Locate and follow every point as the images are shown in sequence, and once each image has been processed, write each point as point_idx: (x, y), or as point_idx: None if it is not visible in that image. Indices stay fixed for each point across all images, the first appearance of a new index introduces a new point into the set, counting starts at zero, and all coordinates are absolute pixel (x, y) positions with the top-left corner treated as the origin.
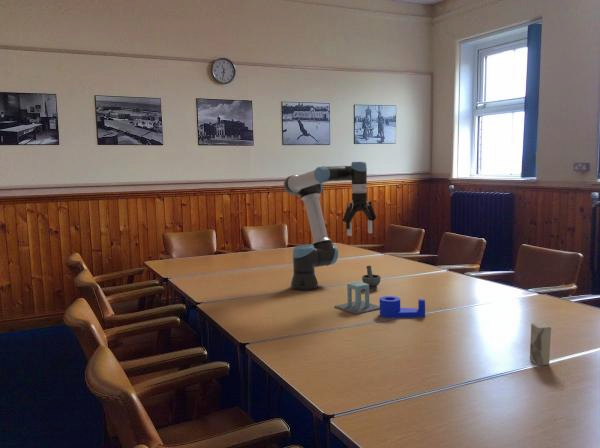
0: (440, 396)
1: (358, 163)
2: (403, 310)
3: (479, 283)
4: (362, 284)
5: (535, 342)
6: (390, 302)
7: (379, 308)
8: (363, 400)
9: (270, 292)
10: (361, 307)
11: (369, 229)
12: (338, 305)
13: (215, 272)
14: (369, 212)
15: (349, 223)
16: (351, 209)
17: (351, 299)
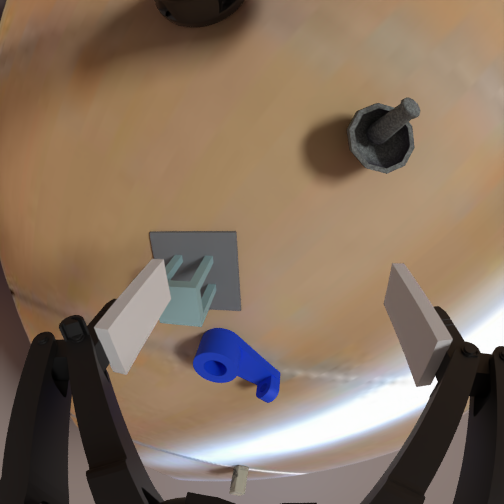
0: (135, 444)
1: None
2: (239, 366)
3: None
4: (184, 317)
5: (232, 481)
6: (203, 376)
7: (230, 309)
8: None
9: (99, 11)
10: None
11: (397, 302)
12: (159, 235)
13: None
14: (496, 419)
15: (109, 357)
16: (67, 493)
17: (176, 270)
